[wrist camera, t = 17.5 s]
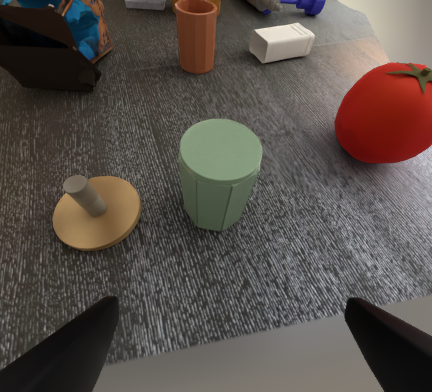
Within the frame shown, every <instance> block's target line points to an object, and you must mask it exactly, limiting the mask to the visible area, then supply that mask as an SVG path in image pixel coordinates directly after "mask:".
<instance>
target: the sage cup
mask: <svg viewBox="0 0 432 392" xmlns="http://www.w3.org/2000/svg"><path fill="white" fill-rule="evenodd" d="M261 159H262V146H261V143H260V141H259V139H258V137H257V136H256V135H255V134H254V133H253V132H252V131H251V130H250V129H249V128H247V127H246V126H244V125H242V124H240V123H238V122H235V121H231V120H227V119H210V120H205V121H202V122H199V123H197V124H195V125H193V126H192V127H190V128H189V129H188V130H187V131H186V132H185V134H184V135H183V137H182V139H181V142H180V151H179V154H178V162H179V169H180V177H181V185H182V192H183V200H184V208H185V211H186V212H187V214H188V215H189V217H190V218H191V220H192V221H193V222H194V224H195V225H196V226H198V228H203V229H208V230H214V231H219V232H220V231H223V230H225V229H226V228H228V227H230V226H231V225H233V224H234V223H236V222H237V221H239V220H240V218H241V216H242V213H243V211H244V208H245V206H246V203H247V201H248V198H249V196H250V193H251V191H252V188H253V186H254V183H255V181H256V178H257V176H258V174H259V171H260V162H261Z"/></svg>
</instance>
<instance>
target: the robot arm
mask: <svg viewBox="0 0 432 392" xmlns="http://www.w3.org/2000/svg"><path fill="white" fill-rule="evenodd" d="M344 317H345V321H346V323H347V325H348V327H349V329H350V331H351V333H352V335H353V337H354V339H355V340H356V342H357V344H358V346H359V348H360V350H361V352H362V354H363V356H364V358H365V360H366V362H367V363H368V365H369V367H370V369H371V370H372V372H373V373H374V375H375V377H376V378H377V380H378V382H379V384H380V385H381V387H382V388H383V390H384V392H432V336H430V335H429V334H427V333H425V332H423V331H421V330H419V329H417V328H416V327H414V326H412V325H410V324H408V323H406V322H405V321H403V320H401V319H399V318H397V317H395V316H393V315H392V314H390V313H388V312H386V311H384V310H382V309H381V308H379V307H377V306H375V305H373V304H371V303H369V302H368V301H366V300H364V299H362V298H359V297H351V298H349V299H348V301H347V305H346V309H345V314H344ZM118 320H119V306H118V298H117V297H116V296H106V297H104V298H102V299H101V300H99V301H98V302H97V303H95V304H94V305H92V306H91V307H90V308H88V309H87V310H85V311H84V312H83V313H81V314H80V315H78V316H77V317H76V318H74V319H73V320H71V321H70V322H68V323H67V324H66V325H64V326H63V327H61V328H60V329H59V330H57V331H56V332H54V333H53V334H52V335H50V336H49V337H47V338H46V339H45V340H43V341H42V342H40V343H39V344H37V345H36V346H35V347H33V348H32V349H30V350H29V351H28V352H26V353H25V354H23V355H22V356H21V357H19V358H18V359H16V360H15V361H14V362H12V363H11V364H9V365H8V366H6V367H5V368H4V369H2V370H1V371H0V392H92V391H93V388H94V386H95V384H96V381H97V379H98V377H99V375H100V372H101V370H102V367H103V365H104V362H105V359H106V356H107V353H108V350H109V347H110V344H111V341H112V338H113V335H114V332H115V329H116V326H117V323H118Z"/></svg>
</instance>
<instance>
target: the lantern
mask: <svg viewBox="0 0 432 392" xmlns="http://www.w3.org/2000/svg"><path fill="white" fill-rule="evenodd" d="M17 1H18V3H19V4H20V5H21V7H13V6H7V5H9V3H10V2H11V0H0V66H2V67H3V68H4V69H6V70H7V71H8V72H9V73H10V74H11V75H12V76H13V77H14V78H15V79H16V80H18V82H19V83H20V84H21V85H22V86H23V87H27V88H50V89H62V90H78V91H89V92H92V91H93V90H94V89H93V88H94V87H96V84H97V81H98V80H99V79H100V77H101V72H100V71H99V70H98V69H97V68H96V67H95V66H94V65H93V64H94V63H96V62H97V61H98V60H99V59H100V58H102V57H103V56H104V55H105V54H106V53H108V52H109V51H110V50H111V49H113V46H112V43H111V39H110V36H109V32H108V29H107V26H106V22H105V19H104V10H105V9H104V6H103V4H102V2H101V1H100V0H17Z"/></svg>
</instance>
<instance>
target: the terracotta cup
mask: <svg viewBox="0 0 432 392" xmlns="http://www.w3.org/2000/svg"><path fill="white" fill-rule="evenodd" d="M175 12H176V25H177V38H178V51H179V61H180V66H181V68H182V69H184V70H185V71H187V72H190V73H196V74H201V73H206V72H208V71H210V70H211V69H212V68H213V64H214V56H215V39H216V22H217V7H216V5H215V3H213V2H211V1H208V0H179V1H178V2H177V3H176V4H175Z"/></svg>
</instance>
